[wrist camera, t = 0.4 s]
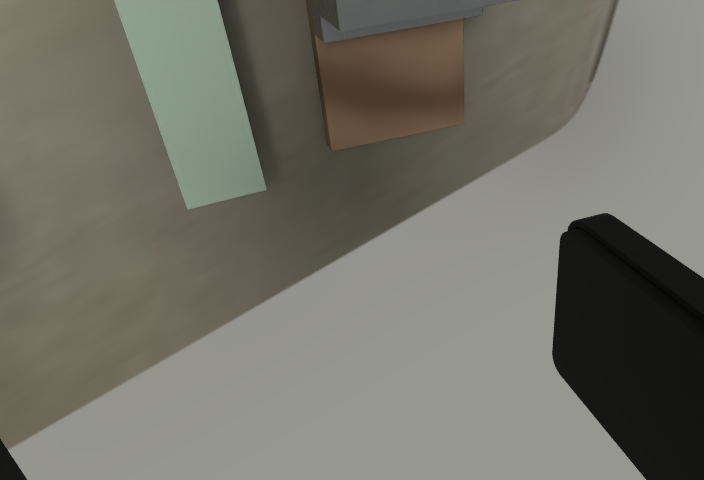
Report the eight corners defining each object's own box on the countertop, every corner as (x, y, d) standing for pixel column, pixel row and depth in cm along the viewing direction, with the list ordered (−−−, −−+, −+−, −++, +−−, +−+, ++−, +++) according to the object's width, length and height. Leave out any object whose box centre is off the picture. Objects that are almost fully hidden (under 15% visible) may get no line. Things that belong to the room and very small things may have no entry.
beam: (54, -223, 28) (25, -253, 23) (154, -238, 29) (147, -270, 24) (187, 172, 40) (187, 209, 35) (257, 155, 41) (266, 189, 36)
